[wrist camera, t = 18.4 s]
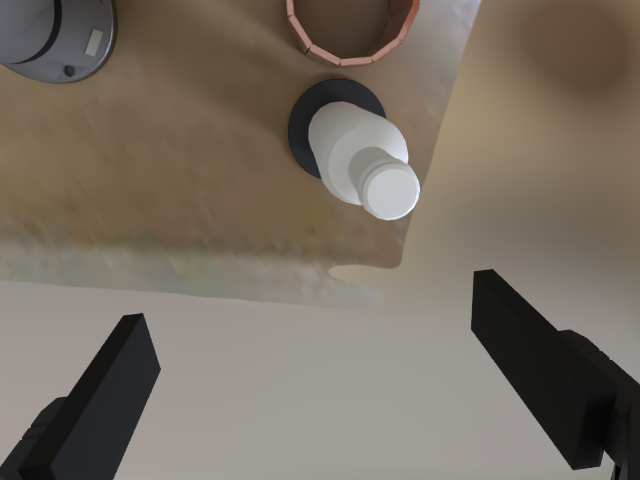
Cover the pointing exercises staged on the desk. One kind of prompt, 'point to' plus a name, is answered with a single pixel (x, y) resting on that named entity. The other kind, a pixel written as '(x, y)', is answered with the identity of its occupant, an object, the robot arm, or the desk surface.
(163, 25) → the desk surface
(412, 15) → the reddish brown pot
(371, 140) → the bottle
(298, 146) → the coaster
